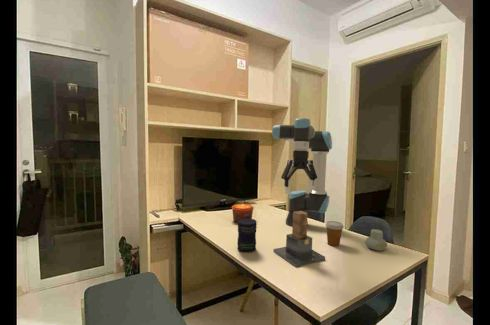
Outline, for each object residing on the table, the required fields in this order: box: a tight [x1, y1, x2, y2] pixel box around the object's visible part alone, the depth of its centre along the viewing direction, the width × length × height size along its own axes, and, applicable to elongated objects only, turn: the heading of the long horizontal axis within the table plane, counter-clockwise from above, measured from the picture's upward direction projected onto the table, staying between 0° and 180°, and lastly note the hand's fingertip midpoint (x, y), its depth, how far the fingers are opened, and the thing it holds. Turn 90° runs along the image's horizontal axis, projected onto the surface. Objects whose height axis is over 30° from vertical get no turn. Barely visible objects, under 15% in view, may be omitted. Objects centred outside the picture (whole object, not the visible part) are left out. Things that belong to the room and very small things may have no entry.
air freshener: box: [364, 228, 388, 252], centre depth 141 cm, size 11×8×10 cm
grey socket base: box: [273, 233, 326, 268], centre depth 129 cm, size 18×18×10 cm
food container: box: [231, 203, 255, 224], centre depth 185 cm, size 16×16×11 cm
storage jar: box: [236, 218, 257, 254], centre depth 136 cm, size 10×10×15 cm
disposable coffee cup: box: [325, 220, 344, 247], centre depth 145 cm, size 10×10×12 cm
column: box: [291, 211, 309, 239], centre depth 129 cm, size 5×5×20 cm
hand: (298, 193), depth 128 cm, fingers open, 13 cm apart
